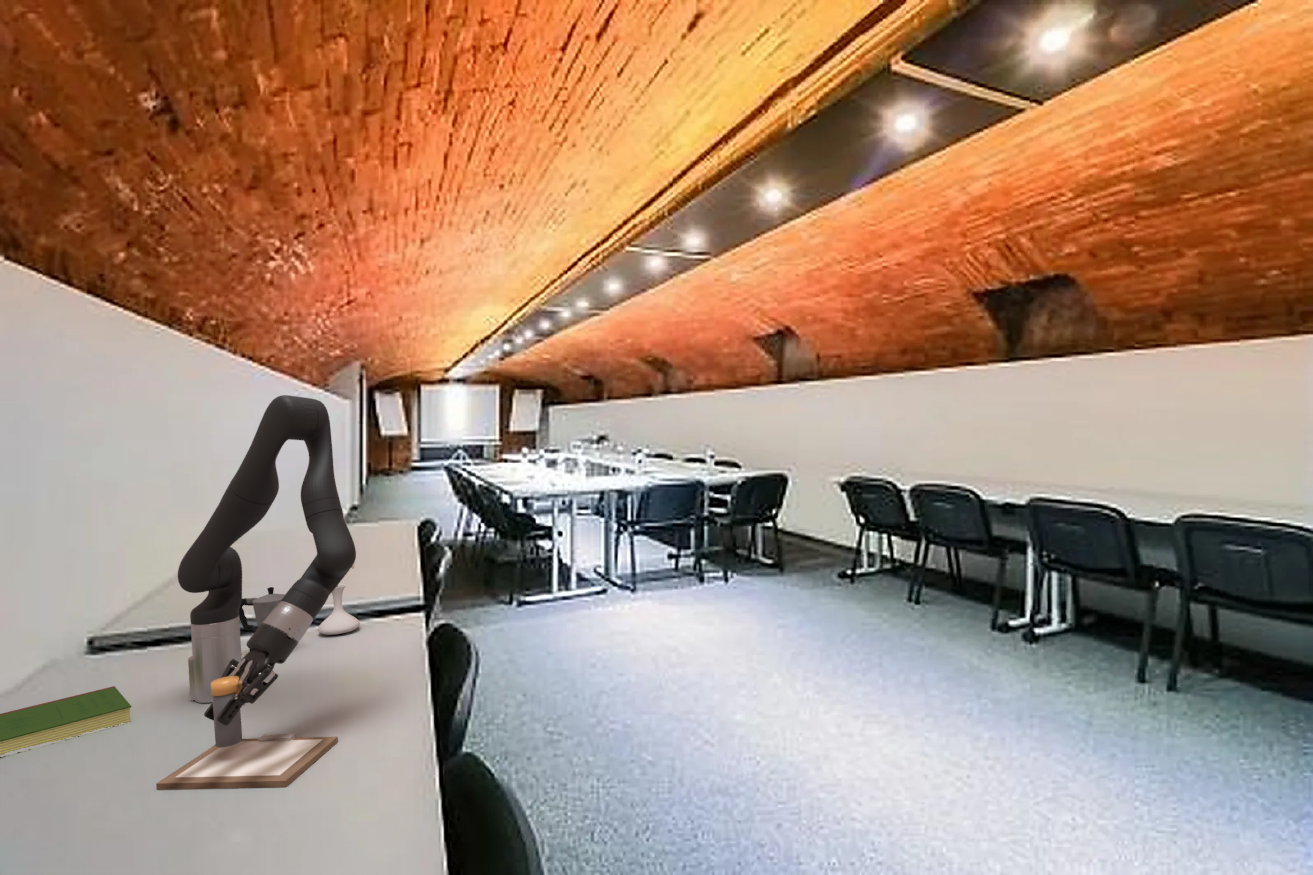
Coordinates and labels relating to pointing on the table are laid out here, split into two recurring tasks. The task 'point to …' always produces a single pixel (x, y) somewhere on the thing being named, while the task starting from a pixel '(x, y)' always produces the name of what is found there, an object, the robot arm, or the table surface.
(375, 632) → the table surface
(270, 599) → the coffeepot
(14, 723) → the hardcover book
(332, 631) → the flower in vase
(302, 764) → the clipboard
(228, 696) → the orange and grey cylinder
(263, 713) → the table surface
